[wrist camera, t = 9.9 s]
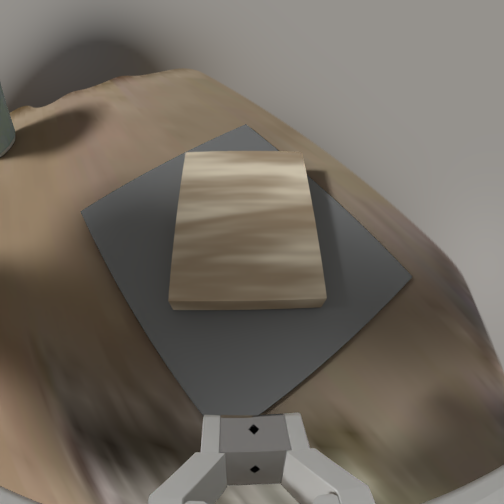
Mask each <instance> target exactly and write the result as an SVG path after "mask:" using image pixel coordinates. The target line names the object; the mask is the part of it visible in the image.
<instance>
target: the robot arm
mask: <svg viewBox="0 0 504 504" xmlns="http://www.w3.org/2000/svg"><path fill="white" fill-rule="evenodd" d="M279 483H281V485H282V486H283V487H284V488H285V489H286V490H287V491H288V492H289V493H290V494H291V495H292V496H293V497H294V498H295V499H296V500H297V501H298V502H299V503H300V504H375V501H374V499H373V496H372V494H371V491H370V489H369V486H368V485H367V484H365V483H364V482H362V481H361V480H359V479H358V478H356V477H355V476H353V475H352V474H350V473H349V472H347V471H346V470H344V469H343V468H342V467H340V466H339V465H337V464H336V463H335V462H333V461H332V460H330V459H329V458H328V457H326V456H325V455H324V454H322V453H321V452H319V451H318V450H317V449H315V448H311V449H310V446H309V442H308V439H307V435H306V431H305V428H304V424H303V421H302V417H301V414H300V413H299V412H298V413H285V414H270V415H221V416H220V415H204V417H203V427H202V439H201V452H195V453H194V454H193V455H192V456H191V457H190V458H189V459H188V460H187V461H186V462H185V463H184V464H183V465H182V466H181V467H180V468H179V469H178V470H177V471H176V472H175V473H174V474H172V475H171V476H170V477H169V478H168V479H167V480H166V481H165V482H164V483H163V484H162V485H161V486H159V487H158V488H157V489H156V490H155V491H154V492H153V493H152V494H150V495H149V500H148V504H215V502H216V501H217V500H218V498H219V497H220V496H221V494H222V493H223V492H224V490H225V489H226V487H227V485H252V484H279ZM0 504H42V503H39V502H37V501H34V500H32V499H29V498H27V497H24V496H22V495H19V494H17V493H15V492H13V491H10V490H8V489H6V488H4V487H2V486H0ZM421 504H504V465H502V466H500V467H499V468H497V469H495V470H493V471H492V472H490V473H488V474H486V475H484V476H482V477H480V478H478V479H476V480H474V481H472V482H470V483H468V484H466V485H464V486H462V487H460V488H458V489H455V490H453V491H451V492H449V493H446V494H444V495H441V496H439V497H437V498H434V499H432V500H429V501H426V502H424V503H421Z"/></svg>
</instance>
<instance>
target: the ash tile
mask: <svg viewBox="0 0 504 504" xmlns="http://www.w3.org/2000/svg"><path fill="white" fill-rule="evenodd" d="M326 299H327V295H326V288H325V281H324V274H323V267H322V260H321V254H320V247H319V241H318V235H317V229H316V223H315V217H314V211H313V206H312V200H311V195H310V189H309V184H308V179H307V174H306V169H305V164H304V159H303V154H302V152H291V151H207V152H186V153H185V159H184V166H183V172H182V179H181V186H180V194H179V201H178V209H177V217H176V225H175V234H174V243H173V253H172V263H171V274H170V286H169V299H168V301H169V303H170V305H171V307H172V308H173V310H260V309H293V308H317V307H322V305H323V304H324V302H325V301H326Z"/></svg>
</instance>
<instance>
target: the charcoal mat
mask: <svg viewBox="0 0 504 504" xmlns="http://www.w3.org/2000/svg"><path fill="white" fill-rule="evenodd" d="M207 151H278V150H277V149H276V148H275V147H273V146H272V145H271V144H270V143H269V142H267V141H266V140H265V139H264V138H262V137H261V136H260V135H259V134H257V133H256V132H255V131H254V130H252V129H251V128H250V127H249V126H247V125H246V124H245V125H243V126H241V127H239V128H236V129H234V130H232V131H230V132H227V133H225V134H223V135H221V136H219V137H216V138H214V139H212V140H210V141H208V142H206V143H204V144H201V145H199V146H197V147H195V148H193V149H191V150H189V151H187V152H207ZM185 153H186V152H185ZM185 153H183V154H181V155H179V156H177V157H175V158H173V159H171V160H169V161H167V162H165V163H164V164H162V165H160V166H158V167H156V168H154V169H152V170H150V171H149V172H147V173H145V174H143V175H141V176H139V177H138V178H136V179H134V180H132V181H130V182H129V183H127V184H125V185H123V186H122V187H120V188H118V189H117V190H115V191H113V192H111V193H110V194H108V195H106V196H105V197H103V198H101V199H100V200H98V201H97V202H95V203H93V204H92V205H90V206H88V207H87V208H85V209H84V210H82V211H81V214H82V216H83V218H84V220H85V222H86V224H87V226H88V229H89V231H90V233H91V235H92V237H93V239H94V241H95V243H96V245H97V247H98V249H99V251H100V253H101V255H102V257H103V259H104V261H105V263H106V265H107V266H108V268H109V270H110V272H111V274H112V276H113V278H114V279H115V281H116V283H117V285H118V287H119V289H120V290H121V292H122V294H123V296H124V297H125V299H126V301H127V303H128V304H129V306H130V308H131V309H132V311H133V313H134V314H135V316H136V318H137V319H138V321H139V323H140V324H141V326H142V328H143V329H144V331H145V333H146V334H147V336H148V337H149V339H150V340H151V342H152V344H153V345H154V347H155V348H156V350H157V351H158V353H159V354H160V356H161V357H162V359H163V360H164V362H165V363H166V365H167V366H168V368H169V369H170V371H171V372H172V374H173V375H174V377H175V378H176V379H177V381H178V382H179V384H180V385H181V387H182V388H183V389H184V391H185V392H186V394H187V395H188V396H189V398H190V399H191V400H192V402H193V403H194V404H195V406H196V407H197V408H198V410H199V411H200V412H201V414H202V415H203V416H204V415H220V416H221V415H259V414H261V413H262V412H263V411H265V410H266V409H267V408H269V407H270V406H271V405H273V404H274V403H275V402H277V401H278V400H279V399H281V398H282V397H283V396H284V395H286V394H287V393H288V392H289V391H291V390H292V389H293V388H294V387H296V386H297V385H298V384H299V383H301V382H302V381H303V380H304V379H305V378H307V377H308V376H309V375H310V374H311V373H313V372H314V371H315V370H316V369H317V368H318V367H320V366H321V365H322V364H323V363H324V362H325V361H327V360H328V359H329V358H330V357H331V356H332V355H333V354H334V353H336V352H337V351H338V350H339V349H340V348H341V347H342V346H343V345H344V344H346V343H347V342H348V341H349V340H350V339H351V338H352V337H353V336H354V335H355V334H356V333H357V332H358V331H359V330H361V329H362V328H363V327H364V326H365V325H366V324H367V323H368V322H369V321H370V320H371V319H372V318H373V317H374V316H375V315H376V314H377V313H378V312H379V311H380V310H381V309H382V308H383V307H384V306H385V305H386V304H387V303H388V302H389V301H390V300H391V299H392V298H393V297H394V296H395V295H396V294H397V293H398V292H399V291H400V289H401V288H402V287H403V286H404V285H405V284H406V283H407V282H408V281H409V280H410V279H411V278H412V276H411V275H410V274H409V273H408V272H407V271H406V269H405V268H404V267H403V266H402V265H401V264H400V263H399V262H398V261H397V260H396V259H395V258H394V257H393V256H392V255H391V254H390V253H389V252H388V251H387V250H386V249H385V248H384V247H383V246H382V245H381V244H380V243H379V242H378V241H377V240H376V239H375V238H374V237H373V236H372V235H371V234H370V233H369V232H368V231H367V230H366V229H365V228H364V227H363V226H362V225H361V224H360V223H359V222H358V221H357V220H356V219H355V218H354V217H353V216H352V215H350V214H349V213H348V212H347V211H346V210H345V209H344V208H343V207H342V206H341V205H340V204H339V203H338V202H337V201H335V200H334V199H333V198H332V197H331V196H330V195H329V194H328V193H327V192H326V191H324V190H323V189H322V188H321V187H320V186H319V185H318V184H317V183H316V182H314V181H313V180H312V179H311V178H310V177H309V176H308V175H307V179H308V184H309V189H310V195H311V200H312V206H313V211H314V217H315V223H316V229H317V235H318V241H319V247H320V254H321V260H322V267H323V274H324V281H325V288H326V295H327V299H326V301H325V302H324V304H323V305H322V307H317V308H293V309H260V310H173V308H172V307H171V305H170V303H169V301H168V299H169V286H170V274H171V263H172V253H173V243H174V234H175V225H176V217H177V209H178V201H179V194H180V186H181V179H182V172H183V166H184V159H185Z"/></svg>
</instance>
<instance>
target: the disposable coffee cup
mask: <svg viewBox="0 0 504 504" xmlns="http://www.w3.org/2000/svg"><path fill="white" fill-rule="evenodd" d="M15 137H16V136H15V129H14V126H13V123H12V120H11V117H10V114H9V111H8V108H7V105H6V101H5V98H4V94H3V91H2V87H1V84H0V157H1V156H3V155H4V154H5V153H6V152H7V151H8V150H9V149H10V148H11V146H12V145H13V143H14V142H15Z"/></svg>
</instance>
